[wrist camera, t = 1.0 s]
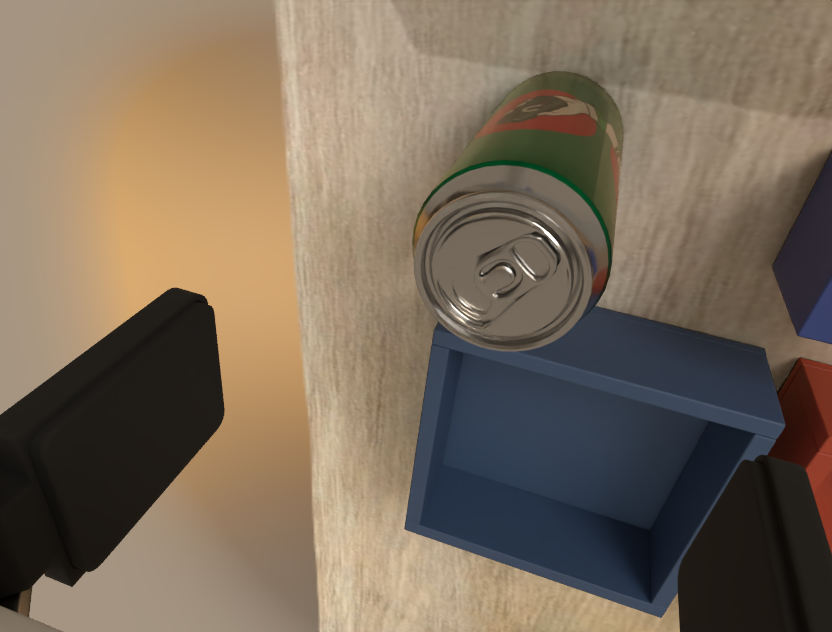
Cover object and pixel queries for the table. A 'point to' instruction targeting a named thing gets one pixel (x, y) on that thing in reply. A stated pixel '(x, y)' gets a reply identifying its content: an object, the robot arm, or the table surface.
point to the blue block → (810, 264)
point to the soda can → (525, 217)
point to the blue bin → (588, 450)
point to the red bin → (809, 430)
